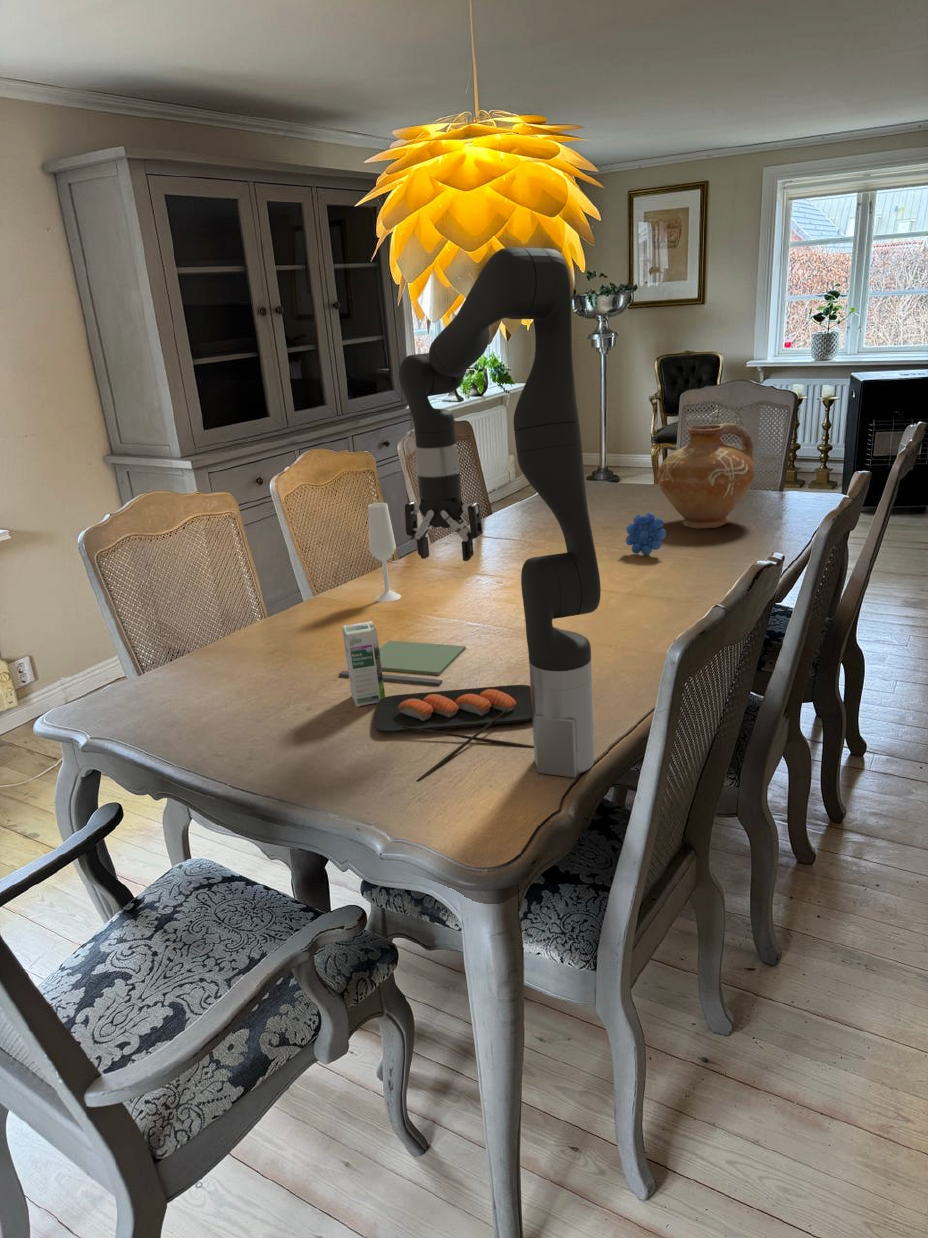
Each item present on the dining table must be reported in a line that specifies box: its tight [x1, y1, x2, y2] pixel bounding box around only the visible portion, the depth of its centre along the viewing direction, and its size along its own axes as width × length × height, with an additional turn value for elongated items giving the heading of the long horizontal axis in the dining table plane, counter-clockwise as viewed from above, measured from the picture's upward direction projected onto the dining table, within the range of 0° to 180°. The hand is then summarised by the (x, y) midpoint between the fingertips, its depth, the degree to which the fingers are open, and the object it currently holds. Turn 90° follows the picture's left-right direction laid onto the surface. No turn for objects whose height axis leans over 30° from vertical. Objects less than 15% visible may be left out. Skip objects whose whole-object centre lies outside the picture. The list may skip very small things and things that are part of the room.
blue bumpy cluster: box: [625, 512, 667, 556], centre depth 235 cm, size 12×7×12 cm, turn 56°
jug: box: [656, 422, 755, 530], centre depth 258 cm, size 28×28×30 cm
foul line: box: [338, 670, 443, 687], centre depth 169 cm, size 2×22×1 cm, turn 68°
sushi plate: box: [373, 684, 534, 783], centre depth 145 cm, size 29×30×4 cm
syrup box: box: [341, 620, 386, 708], centre depth 159 cm, size 6×6×14 cm
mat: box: [379, 640, 467, 676], centre depth 179 cm, size 14×18×1 cm
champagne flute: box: [367, 502, 402, 603], centre depth 215 cm, size 7×7×24 cm
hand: (446, 558), depth 157 cm, fingers open, 8 cm apart
